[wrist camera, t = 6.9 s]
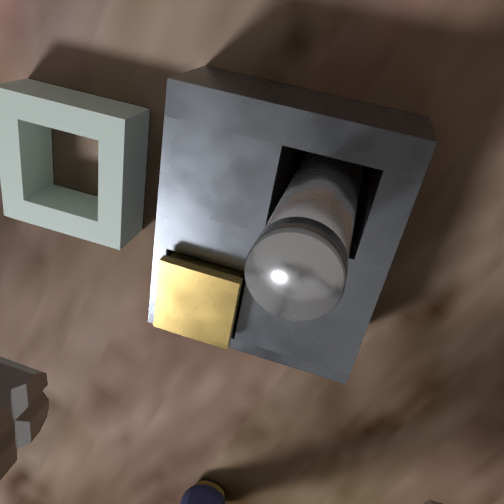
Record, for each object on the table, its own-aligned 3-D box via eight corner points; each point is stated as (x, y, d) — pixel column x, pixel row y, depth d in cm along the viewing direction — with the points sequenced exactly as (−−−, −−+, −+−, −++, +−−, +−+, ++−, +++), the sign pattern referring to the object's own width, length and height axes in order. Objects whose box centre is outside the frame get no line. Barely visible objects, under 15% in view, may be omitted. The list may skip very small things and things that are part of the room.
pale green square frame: (150, 108, 27) (124, 119, 25) (142, 229, 31) (120, 249, 29) (27, 78, 28) (-9, 85, 26) (34, 199, 32) (4, 215, 30)
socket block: (428, 117, 24) (437, 142, 20) (352, 331, 31) (345, 384, 26) (204, 65, 25) (167, 78, 21) (179, 279, 32) (147, 321, 28)
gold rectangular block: (266, 234, 29) (239, 284, 24) (254, 292, 31) (227, 349, 26) (199, 215, 30) (158, 260, 24) (191, 274, 32) (153, 326, 27)
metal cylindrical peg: (371, 149, 25) (358, 248, 15) (353, 208, 27) (330, 334, 17) (307, 133, 26) (252, 219, 15) (294, 192, 27) (236, 305, 17)
